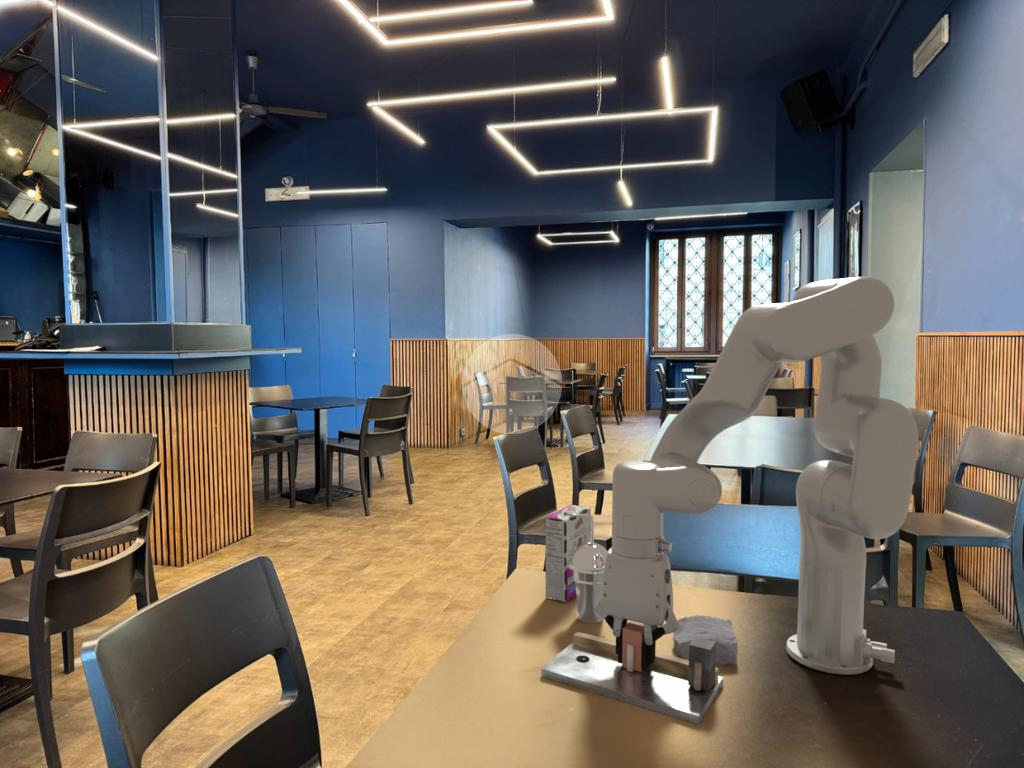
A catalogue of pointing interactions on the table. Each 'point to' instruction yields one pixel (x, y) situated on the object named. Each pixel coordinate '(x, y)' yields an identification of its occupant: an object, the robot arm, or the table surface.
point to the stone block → (707, 637)
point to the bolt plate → (631, 683)
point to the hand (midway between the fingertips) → (635, 661)
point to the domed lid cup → (588, 574)
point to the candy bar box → (563, 550)
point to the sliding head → (632, 646)
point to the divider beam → (670, 659)
